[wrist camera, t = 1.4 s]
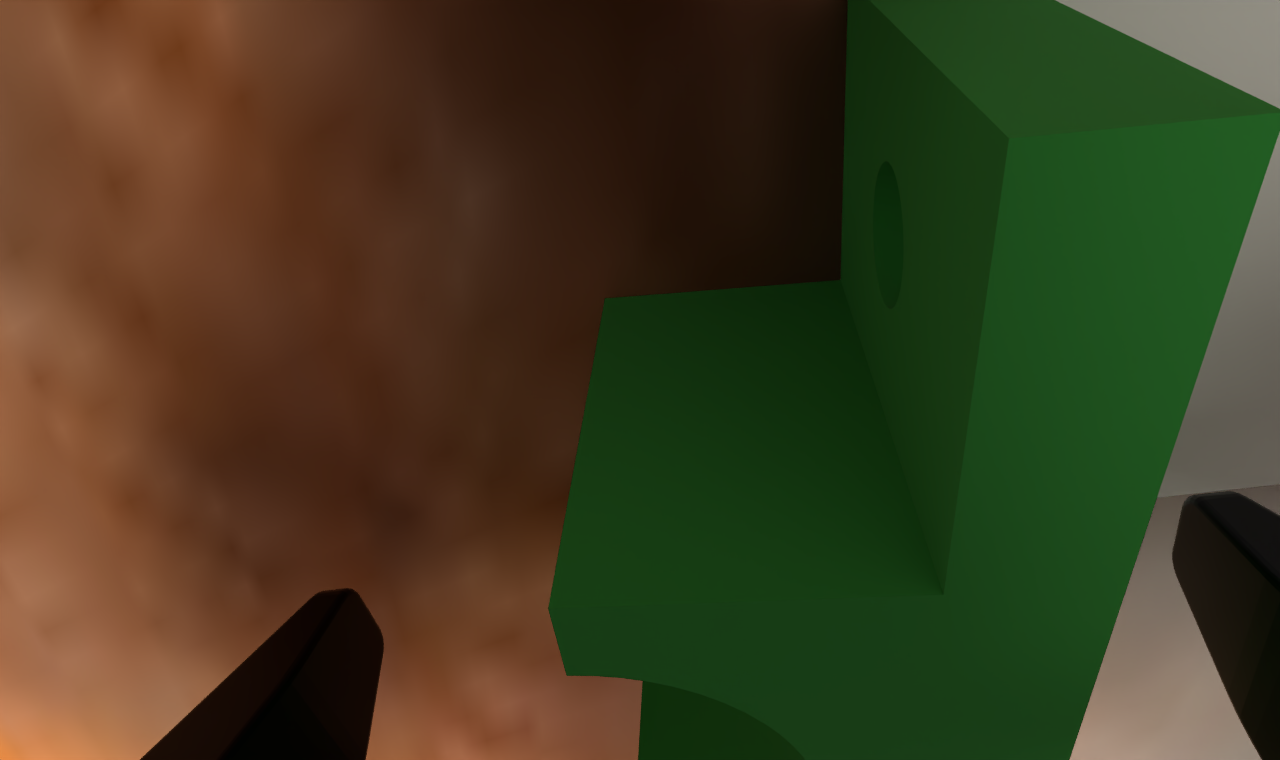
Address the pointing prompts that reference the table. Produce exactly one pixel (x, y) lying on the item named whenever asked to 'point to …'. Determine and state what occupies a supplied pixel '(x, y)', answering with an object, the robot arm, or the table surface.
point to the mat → (1266, 265)
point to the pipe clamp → (918, 407)
